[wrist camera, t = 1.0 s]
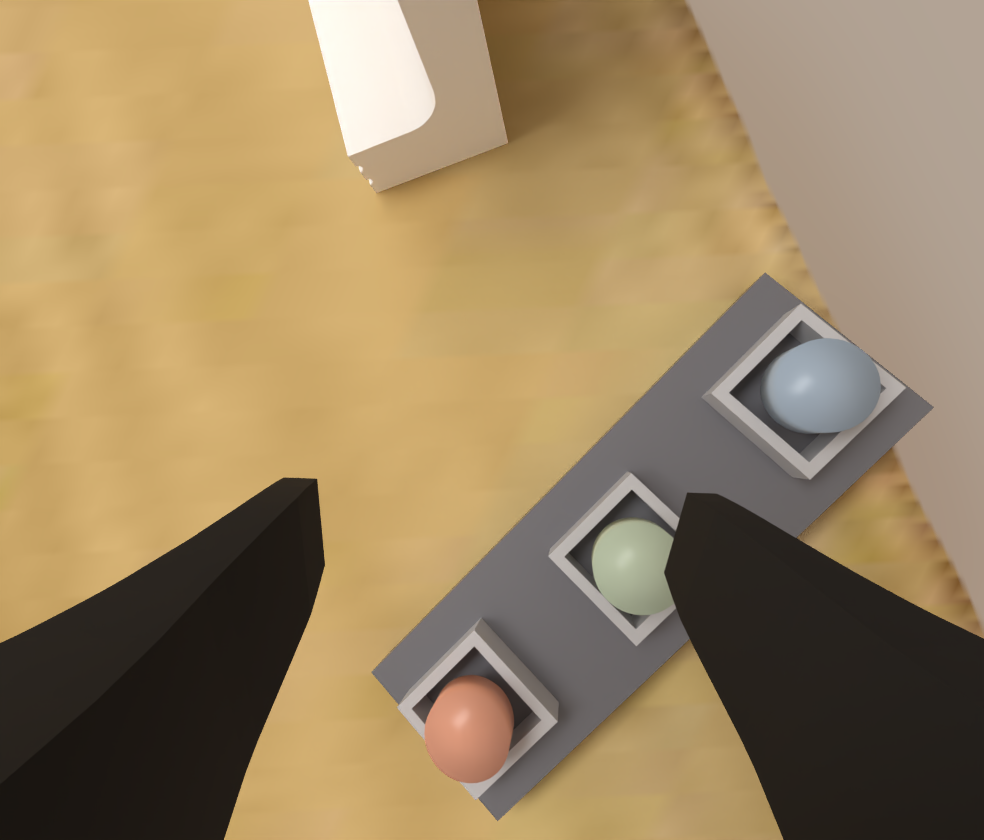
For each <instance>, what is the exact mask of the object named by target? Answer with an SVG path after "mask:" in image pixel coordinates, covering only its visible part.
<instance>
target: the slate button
mask: <svg viewBox="0 0 984 840" xmlns="http://www.w3.org/2000/svg"><path fill="white" fill-rule="evenodd" d="M880 391H881V382H880V376H879V372H878V370H877V368H876V365H875V364H874V362H873V361H872V359H871V358H870V357H869V356H868V355H867V354H866V353H865V352H864V351H863V350H862V349H860V348H859V347H857V346H855V345H853V344H852V343H849V342H846V341H843V340H839V339H832V338H823V339H816V340H811V341H809V342H806V343H803V344H801V345H799V346H797V347H795V348H792V349H790V350H788V351H786V352H784V353H782V354H780V355H779V356H777V357H776V358H775V359H774V360H773V361H772V362H771V363H770V364H769V365H768V367H767V368H766V370H765V372H764V374H763V377H762V380H761V387H760V392H761V399H762V402H763V405H764V407H765V409H766V411H767V412H768V414H769V415H770V416H771V418H772V419H774V420H775V421H776V422H777V423H778V424H780V425H781V426H783V427H784V428H786V429H789V430H791V431H794V432H798V433H804V434H815V433H831V432H840V431H844V430H847V429H850V428H853V427H855V426H857V425H858V424H860V423H861V422H863V421H864V420H865V419H866V418H867V417H868V416H869V415H870V414H871V413H872V411H873V410H874V408H875V407H876V405H877V403H878V400H879V397H880Z"/></svg>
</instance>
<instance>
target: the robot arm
mask: <svg viewBox="0 0 984 840" xmlns="http://www.w3.org/2000/svg"><path fill="white" fill-rule="evenodd" d="M324 566H325V560H324V550H323V539H322V528H321V517H320V506H319V495H318V484H317V479H307V478H282V479H281V480H279V481H277V482H275V483H274V484H272V485H271V486H269V487H267V488H266V489H264V490H263V491H261V492H260V493H258V494H257V495H255V496H254V497H252V498H251V499H249V500H248V501H246V502H245V503H243V504H242V505H240V506H239V507H237V508H236V509H235V510H233V511H232V512H230V513H229V514H227V515H225V516H224V517H222V518H221V519H219V520H218V521H216V522H215V523H213V524H212V525H210V526H209V527H207V528H206V529H204V530H203V531H201V532H200V533H198V534H197V535H195V536H194V537H192V538H190V539H189V540H187V541H186V542H184V543H182V544H181V545H179V546H177V547H176V548H174V549H172V550H171V551H169V552H168V553H166V554H164V555H163V556H161V557H159V558H158V559H156V560H154V561H153V562H151V563H149V564H148V565H146V566H144V567H143V568H141V569H139V570H138V571H136V572H135V573H133V574H131V575H130V576H128V577H126V578H125V579H123V580H121V581H119V582H118V583H116V584H114V585H112V586H111V587H109V588H107V589H105V590H103V591H101V592H100V593H98V594H96V595H94V596H92V597H91V598H89V599H87V600H85V601H83V602H81V603H79V604H77V605H75V606H74V607H72V608H70V609H68V610H66V611H64V612H62V613H60V614H58V615H56V616H54V617H52V618H50V619H48V620H47V621H45V622H43V623H41V624H39V625H37V626H35V627H33V628H31V629H29V630H27V631H25V632H23V633H21V634H19V635H17V636H15V637H13V638H10V639H8V640H6V641H4V642H2V643H0V840H224V837H225V834H226V831H227V828H228V825H229V822H230V819H231V816H232V813H233V810H234V807H235V803H236V800H237V797H238V794H239V791H240V788H241V785H242V782H243V779H244V776H245V773H246V770H247V768H248V765H249V762H250V760H251V757H252V754H253V752H254V749H255V747H256V744H257V741H258V739H259V736H260V734H261V732H262V729H263V727H264V725H265V722H266V720H267V718H268V715H269V713H270V711H271V708H272V706H273V704H274V701H275V699H276V696H277V694H278V692H279V689H280V687H281V685H282V682H283V680H284V678H285V675H286V673H287V671H288V668H289V666H290V664H291V661H292V659H293V656H294V654H295V652H296V649H297V647H298V644H299V642H300V640H301V637H302V635H303V632H304V630H305V628H306V625H307V623H308V620H309V618H310V615H311V612H312V609H313V606H314V602H315V599H316V595H317V592H318V588H319V585H320V581H321V577H322V574H323V570H324ZM664 574H665V577H666V580H667V583H668V586H669V589H670V592H671V595H672V598H673V601H674V604H675V606H676V609H677V612H678V614H679V617H680V620H681V622H682V624H683V626H684V628H685V630H686V632H687V634H688V636H689V638H690V640H691V642H692V644H693V646H694V648H695V650H696V652H697V654H698V656H699V658H700V660H701V662H702V664H703V666H704V668H705V670H706V672H707V674H708V676H709V678H710V680H711V682H712V683H713V685H714V687H715V689H716V691H717V693H718V695H719V697H720V699H721V701H722V703H723V705H724V707H725V709H726V711H727V713H728V715H729V717H730V719H731V720H732V722H733V724H734V726H735V728H736V730H737V732H738V734H739V736H740V738H741V740H742V742H743V744H744V747H745V749H746V751H747V753H748V755H749V757H750V759H751V761H752V764H753V766H754V768H755V770H756V773H757V775H758V778H759V780H760V783H761V785H762V787H763V790H764V792H765V795H766V797H767V800H768V802H769V805H770V807H771V810H772V812H773V815H774V817H775V819H776V822H777V824H778V827H779V829H780V832H781V834H782V837H783V839H784V840H984V639H983V638H981V637H979V636H977V635H975V634H973V633H971V632H969V631H967V630H964V629H962V628H960V627H958V626H956V625H954V624H952V623H950V622H948V621H946V620H944V619H942V618H940V617H938V616H936V615H934V614H932V613H930V612H928V611H926V610H924V609H922V608H920V607H918V606H916V605H914V604H912V603H910V602H908V601H906V600H904V599H903V598H901V597H899V596H897V595H895V594H893V593H892V592H890V591H888V590H886V589H884V588H882V587H881V586H879V585H877V584H875V583H873V582H871V581H870V580H868V579H866V578H864V577H862V576H860V575H859V574H857V573H855V572H853V571H852V570H850V569H848V568H846V567H845V566H843V565H841V564H839V563H838V562H836V561H834V560H832V559H831V558H829V557H827V556H826V555H824V554H822V553H820V552H819V551H817V550H815V549H814V548H812V547H810V546H809V545H807V544H805V543H803V542H802V541H800V540H798V539H797V538H795V537H793V536H792V535H790V534H788V533H787V532H785V531H783V530H782V529H780V528H778V527H777V526H775V525H773V524H772V523H770V522H768V521H767V520H765V519H763V518H761V517H760V516H758V515H756V514H755V513H753V512H751V511H749V510H748V509H746V508H744V507H742V506H740V505H739V504H737V503H735V502H733V501H731V500H729V499H727V498H725V497H723V496H721V495H719V494H716V493H689V492H687V494H686V498H685V501H684V505H683V508H682V512H681V515H680V519H679V522H678V526H677V529H676V532H675V536H674V539H673V543H672V546H671V550H670V553H669V557H668V560H667V564H666V567H665V570H664Z"/></svg>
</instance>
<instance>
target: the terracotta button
mask: <svg viewBox="0 0 984 840" xmlns="http://www.w3.org/2000/svg"><path fill="white" fill-rule="evenodd" d="M513 728H514V713H513V709H512V706H511V703H510V701H509V699H508V697H507V696H506V694H505V693H504V691H503V690H502V689H501V688H500V687H499V686H498V685H497V684H495V683H494V682H492V681H491V680H489V679H487V678H484V677H481V676H477V675H465V676H461V677H458V678H456V679H454V680H452V681H450V682H449V683H448V684H447V685H446V686H445V687H444V688H443V689H442V691H441V692H440V694H439V696H438V698H437V699H436V701H435V703H434V705H433V707H432V709H431V710H430V712H429V714H428V717H427V720H426V723H425V732H424V735H425V743H426V747H427V751H428V753H429V755H430V757H431V759H432V761H433V762H434V764H435V765H436V766H437V767H438V768H439V769H440V770H441V771H442V772H443V773H444V774H445V775H447V776H448V777H450V778H452V779H454V780H456V781H459V782H464V783H479V782H483V781H485V780H488V779H490V778H491V777H493V776H494V775H495V774H496V773H498V771H499V770H500V769H501V768H502V766H503V765H504V763H505V761H506V759H507V756H508V752H509V747H510V743H511V738H512V734H513Z"/></svg>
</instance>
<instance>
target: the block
mask: <svg viewBox="0 0 984 840" xmlns="http://www.w3.org/2000/svg"><path fill="white" fill-rule="evenodd" d="M309 4H310V8H311V12H312V16H313V20H314V24H315V28H316V32H317V36H318V40H319V44H320V48H321V52H322V55H323V59H324V63H325V67H326V71H327V75H328V79H329V83H330V87H331V91H332V95H333V99H334V103H335V107H336V111H337V115H338V119H339V123H340V127H341V131H342V134H343V138H344V142H345V146H346V150H347V154H348V157H349V158H350V160H351V161H352V162H353V163H354V165H355V166H359V169H360V173H361V174H362V175H363V176H364V178H365V179H366V180H367V179H369V183H370V185H371V187H372V188H373V189H374V191H375V192H376V193H378V192H381V191H383V190H386V189H389V188H391V187H394V186H397V185H399V184H402V183H404V182H407V181H410V180H412V179H415V178H418V177H420V176H423V175H426V174H428V173H431V172H433V171H436V170H439V169H441V168H444V167H447V166H449V165H452V164H455V163H457V162H460V161H462V160H465V159H468V158H470V157H473V156H476V155H478V154H481V153H484V152H486V151H489V150H491V149H494V148H497V147H499V146H502V145H505V144H507V143H508V140H507V135H506V130H505V126H504V121H503V117H502V112H501V107H500V103H499V98H498V94H497V89H496V84H495V80H494V75H493V70H492V66H491V61H490V57H489V52H488V47H487V43H486V38H485V34H484V29H483V24H482V20H481V15H480V10H479V6H478V1H477V0H309Z"/></svg>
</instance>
